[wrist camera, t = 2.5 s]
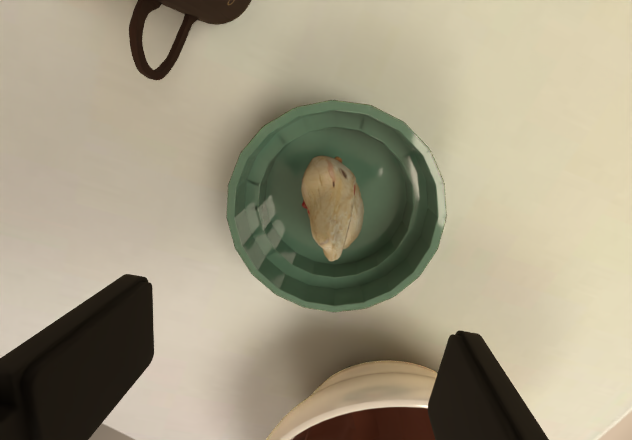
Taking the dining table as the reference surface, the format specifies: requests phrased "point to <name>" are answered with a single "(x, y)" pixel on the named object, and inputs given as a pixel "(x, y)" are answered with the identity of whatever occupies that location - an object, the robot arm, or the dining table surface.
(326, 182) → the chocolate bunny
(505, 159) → the dining table surface
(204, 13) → the coffee mug
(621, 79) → the dining table surface
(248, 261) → the bowl
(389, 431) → the cream round dish
